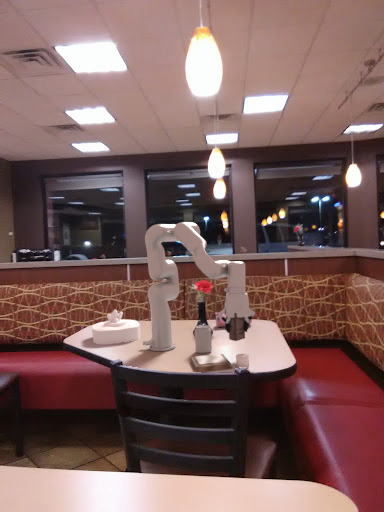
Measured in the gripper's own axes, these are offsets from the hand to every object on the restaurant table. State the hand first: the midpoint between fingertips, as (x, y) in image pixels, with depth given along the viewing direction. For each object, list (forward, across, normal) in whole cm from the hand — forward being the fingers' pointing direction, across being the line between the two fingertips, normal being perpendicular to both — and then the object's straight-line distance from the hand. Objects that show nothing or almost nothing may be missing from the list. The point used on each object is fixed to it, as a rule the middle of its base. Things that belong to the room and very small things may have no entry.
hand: (236, 331), depth 171 cm
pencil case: (+13, +15, +63) cm, 66 cm away
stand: (+12, -13, -6) cm, 19 cm away
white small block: (+11, -1, -12) cm, 17 cm away
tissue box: (+15, -53, +57) cm, 79 cm away
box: (+4, 0, 0) cm, 4 cm away
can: (+13, -12, +14) cm, 22 cm away
